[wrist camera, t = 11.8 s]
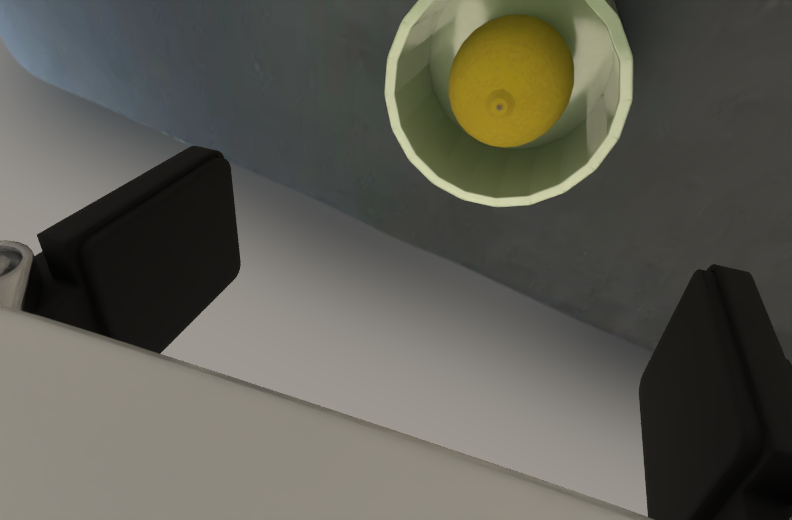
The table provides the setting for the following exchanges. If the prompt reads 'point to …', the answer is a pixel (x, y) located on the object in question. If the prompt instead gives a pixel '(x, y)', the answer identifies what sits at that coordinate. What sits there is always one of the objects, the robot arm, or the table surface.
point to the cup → (521, 165)
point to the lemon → (511, 80)
